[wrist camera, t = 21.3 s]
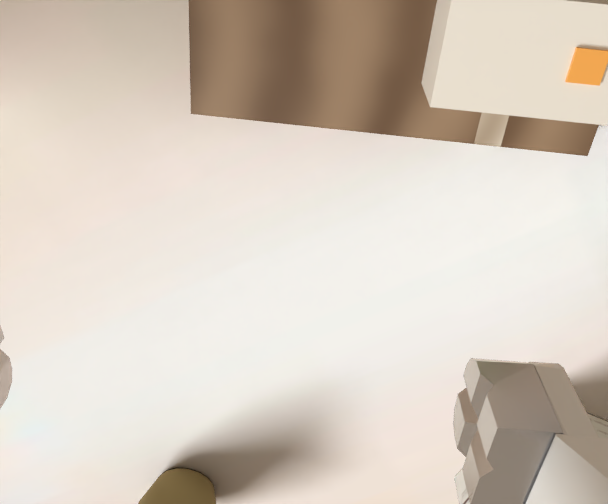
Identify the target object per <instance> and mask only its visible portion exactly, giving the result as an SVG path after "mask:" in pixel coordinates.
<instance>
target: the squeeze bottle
mask: <svg viewBox="0 0 608 504" xmlns="http://www.w3.org/2000/svg"><path fill="white" fill-rule="evenodd" d="M138 504H216V500H215V492H214V485H213V484H212V483H211V481H210V480H209V479H208V478H207V477H205V476H204V475H202V474H201V473H199V472H196V471H193V470H190V469H180V468H176V469H172V470H168V471H166V472H164V473H163V474H161V475H160V476H159V477H158V479H157V480H156V481H155V482H154V484H153V485H152V486H151V487H150V489H149V490H148V491H147V492H146V494H145V495H144V496H143V497H142V499H141V500H140V501H139V503H138Z"/></svg>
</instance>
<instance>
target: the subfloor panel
mask: <svg viewBox="0 0 608 504" xmlns="http://www.w3.org/2000/svg"><path fill="white" fill-rule="evenodd" d="M436 3H437V0H189V35H190V85H191V114H199V115H208V116H217V117H227V118H236V119H246V120H255V121H264V122H274V123H283V124H293V125H302V126H311V127H321V128H330V129H340V130H349V131H358V132H368V133H377V134H386V135H396V136H405V137H415V138H424V139H433V140H443V141H452V142H462V143H471V144H479V145H489V146H498V147H509V148H518V149H527V150H537V151H546V152H556V153H565V154H574V155H584V156H588V153H589V150H590V147H591V145H592V142H593V139H594V136H595V134H596V131H597V128H598V125H596V124H587V123H577V122H568V121H558V120H549V119H539V118H530V117H520V116H510V115H501V114H491V113H482V112H472V111H463V110H453V109H444V108H434V107H430V106H429V103H428V100H427V97H426V95H425V92H424V89H423V86H422V77H423V72H424V67H425V62H426V56H427V51H428V46H429V40H430V35H431V30H432V25H433V19H434V14H435V9H436Z"/></svg>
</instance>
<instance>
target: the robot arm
mask: <svg viewBox="0 0 608 504" xmlns="http://www.w3.org/2000/svg"><path fill="white" fill-rule="evenodd" d="M3 339H4V335H3V332H2V329H1V326H0V343H1V342H2V340H3ZM463 376H464V379H465V383H466V387H467V388H465V389H464V390H463V391H461V392H460V393H459V394H458V396H457V400H456V404H455V408H454V421H453V425H454V436H455V441H456V445H457V449H458V450H459V451H460V452H461V453H462V454H463V455H464V456H465V457H466V460H465V463H464V466H463V469H462V472H463V476H464V480H465V484H466V488H467V492H468V497H469V501H470V504H608V438H599V436H598V434H597V432H596V430H595V428H594V426H593V424H592V422H591V420H590V418H589V416H588V414H587V413H586V411H585V409H584V407H583V405H582V403H581V401H580V399H579V397H578V395H577V393H576V391H575V389H574V387H573V385H572V383H571V381H570V379H569V377H568V375H567V373H566V371H565V370H564V368H563V367H562V366H561V365H559V364H555V363H539V362H529V363H527V362H516V361H502V360H489V359H475V358H471V359H470V360H469V362H468V363H467V365H466V368H465V372H464V375H463ZM11 383H12V367H11V362H10V358H9V357H8V356H7V355H6V354H5V353H4V352H3V351H2V350H1V349H0V408H1V407H2V405H3V404H4V402H5V400H6V399H7V396H8V393H9V390H10V386H11Z"/></svg>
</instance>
